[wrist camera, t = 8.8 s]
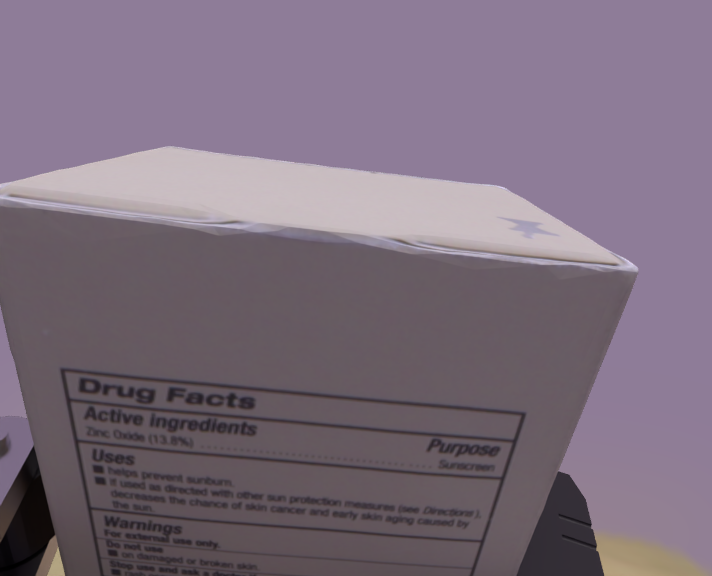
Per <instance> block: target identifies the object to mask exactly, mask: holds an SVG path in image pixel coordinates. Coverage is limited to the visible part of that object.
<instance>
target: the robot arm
mask: <svg viewBox="0 0 712 576" xmlns="http://www.w3.org/2000/svg"><path fill="white" fill-rule="evenodd" d="M591 525H592V524H591V520H590V516H589V512H588V508H587V503H586V499H585V498H584V496H583V495H582V494H581V492H580V490H579V489H578V487H577V486H576V485H575V483H574V481H573V480H572V478H571V477H570V475H568V474H565V473H561V472H559V471H558V473H557V475H556V478H555V480H554V483H553V485H552V487H551V490H550V492H549V495H548V497H547V500H546V503H545V506H544V509H543V511H542V514H541V516H540V518H539V520H538V523H537V525H536V527H535V530H534V532H533V535H532V537H531V540H530V542H529V545H528V547H527V550H526V552H525V555H524V557H523V560H522V562H521V564H520V567H519V570H518V573H517V575H516V576H604V573H603V569H602V565H601V561H600V557H599V553H598V551H596V547H597V544H596V540H595V536H594V532H593V529H591ZM57 548H58V543H57V539H56V535H55V531H54V527H53V523H52V519H51V515H50V510H49V506H48V502H47V498H46V493H45V489H44V485H43V481H42V476H41V472H40V468H39V464H38V460H37V456H36V451H35V447H34V443H33V439H32V435H31V431H30V427H29V422H28V419H27V418H23V417H17V416H5V417H0V576H47V574H48V572H49V569H50V567H51V564H52V561H53V559H54V556H55V553H56V551H57Z"/></svg>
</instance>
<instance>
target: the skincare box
mask: <svg viewBox="0 0 712 576" xmlns="http://www.w3.org/2000/svg"><path fill="white" fill-rule="evenodd" d="M637 274H638V268H637V267H636V266H635V265H634V264H632V263H631V262H630V261H628V260H627V259H625V258H623V257H621V256H618V255H616V254H614V253H612V252H610V251H609V250H607V249H605V248H603V247H601V246H600V245H598V244H596V243H595V242H594V241H593V240H591V239H589V238H587V237H586V236H584V235H583V234H581V233H580V232H577V231H576V230H574V229H572V228H571V227H569V226H567V225H565V224H564V223H563V222H561V221H560V220H558V219H556V218H554V217H553V216H551V215H549V214H548V213H546V212H544V211H543V210H541V209H540V208H538V207H536V206H534V205H533V204H531V203H530V202H529V201H527V200H525V199H523V198H522V197H520V196H517V195H516V194H514V193H511V192H510V191H509V190H508V189H506V188H504V187H501V186H496V185H486V184H472V183H460V182H456V181H448V180H439V179H426V178H422V177H413V176H404V175H400V174H387V173H380V172H371V171H360V170H354V169H347V168H336V167H326V166H321V165H314V164H304V163H296V162H294V163H293V162H289V161H278V160H270V159H263V158H257V157H247V156H237V155H231V154H222V153H213V152H209V151H200V150H192V149H186V148H180V147H173V146H168V147H162V148H159V149H153V150H148V151H143V152H137V153H133V154H129V155H125V156H121V157H117V158H113V159H109V160H104V161H99V162H94V163H89V164H85V165H81V166H78V167H74V168H68V169H62V170H56V171H52V172H49V173H45V174H41V175H37V176H33V177H29V178H26V179H22V180H18V181H13V182H8V183H3V184H0V305H1V310H2V314H3V319H4V323H5V328H6V333H7V337H8V342H9V345H10V350H11V353H12V356H13V359H14V361H15V365H16V370H17V374H18V379H19V383H20V387H21V392H22V396H23V401H24V405H25V409H26V414H27V418H28V422H29V427H30V431H31V435H32V439H33V443H34V447H35V451H36V456H37V460H38V464H39V468H40V472H41V476H42V481H43V485H44V489H45V493H46V498H47V502H48V506H49V510H50V515H51V519H52V523H53V527H54V531H55V535H56V539H57V543H58V547H59V551H60V555H61V559H62V564H63V568H64V572H65V576H516V575H517V573H518V570H519V567H520V564H521V562H522V560H523V557H524V555H525V552H526V550H527V547H528V545H529V542H530V540H531V537H532V535H533V532H534V530H535V527H536V525H537V523H538V520H539V518H540V516H541V514H542V511H543V509H544V506H545V503H546V500H547V497H548V495H549V492H550V490H551V487H552V485H553V483H554V480H555V478H556V475H557V473H558V470H559V468H560V465H561V463H562V460H563V458H564V456H565V453H566V451H567V448H568V446H569V443H570V440H571V438H572V436H573V433H574V430H575V428H576V426H577V423H578V421H579V419H580V416H581V414H582V411H583V409H584V407H585V404H586V402H587V399H588V397H589V394H590V392H591V389H592V387H593V384H594V382H595V379H596V376H597V374H598V372H599V369H600V367H601V364H602V362H603V360H604V357H605V355H606V352H607V350H608V347H609V345H610V343H611V340H612V338H613V335H614V333H615V330H616V327H617V325H618V323H619V320H620V318H621V315H622V313H623V311H624V308H625V306H626V303H627V301H628V298H629V295H630V293H631V291H632V288H633V285H634V283H635V280H636V277H637Z"/></svg>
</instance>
